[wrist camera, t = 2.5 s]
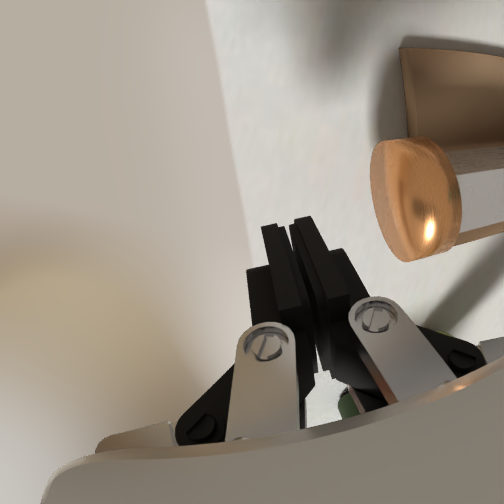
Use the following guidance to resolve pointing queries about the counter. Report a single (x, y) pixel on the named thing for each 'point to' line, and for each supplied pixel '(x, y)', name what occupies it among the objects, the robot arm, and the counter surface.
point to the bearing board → (455, 104)
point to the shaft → (433, 194)
